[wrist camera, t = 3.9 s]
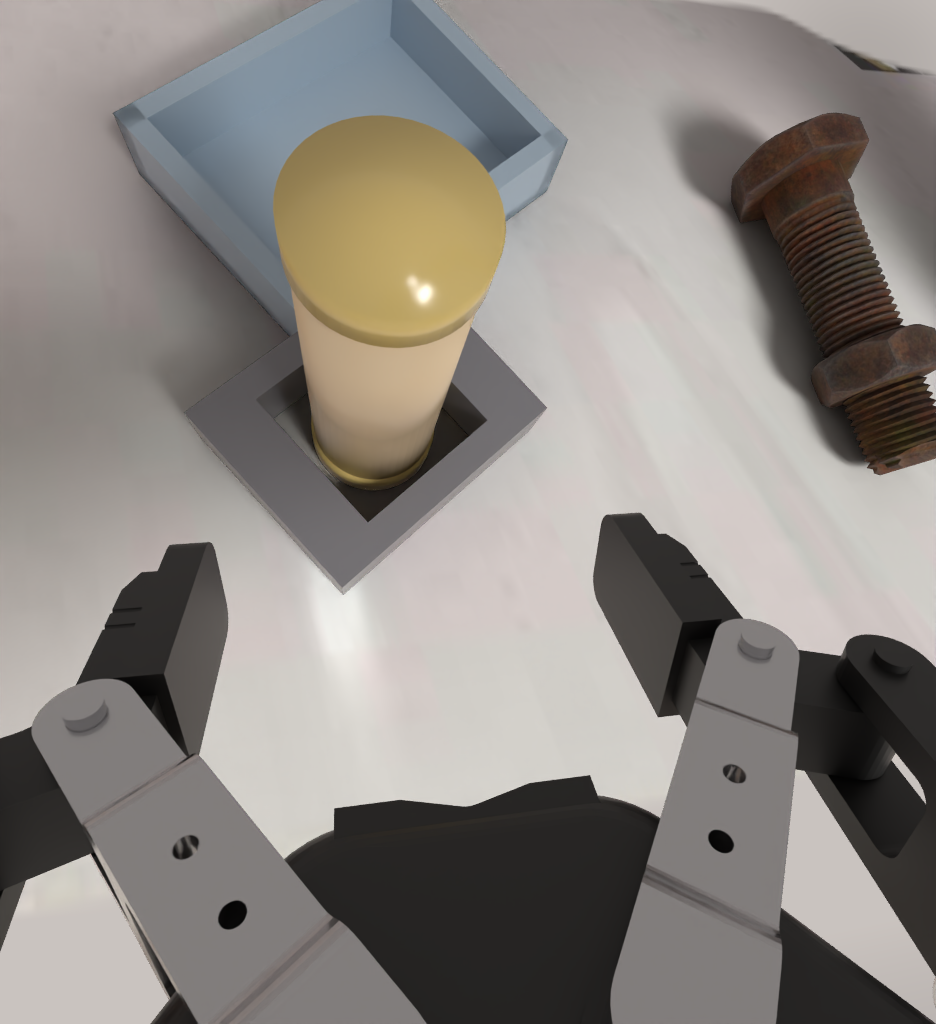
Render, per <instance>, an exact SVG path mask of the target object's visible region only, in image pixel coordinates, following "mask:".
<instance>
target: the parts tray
mask: <svg viewBox="0 0 936 1024" xmlns="http://www.w3.org/2000/svg"><path fill="white" fill-rule="evenodd" d="M113 114H114V116H115V119H116V121H117V123H118V125H119V128H120V130H121V132H122V135H123V137H124V139H125V141H126V144H127V146H128V148H129V151H130V153H131V155H132V157H133V160H134V162H135V164H136V167H137V169H138V171H139V173H140V175H141V176H142V177H143V178H144V179H145V180H146V181H147V182H148V183H149V184H150V186H151V187H152V188H153V189H154V190H155V191H156V192H157V193H158V194H159V195H160V196H161V197H162V199H163V200H164V201H165V202H166V203H167V204H168V205H169V206H170V207H171V208H172V209H173V210H174V212H175V213H176V214H177V215H178V216H179V217H180V218H181V219H182V220H183V221H184V222H185V223H186V225H187V226H188V227H189V228H190V229H191V230H192V231H193V232H194V233H195V234H196V235H197V237H198V238H199V239H200V240H201V241H202V242H203V243H204V244H205V245H206V246H207V247H208V248H209V250H210V251H211V252H212V253H213V254H214V255H215V256H216V257H217V258H218V259H219V260H220V261H221V263H222V264H223V265H224V266H225V267H226V268H227V269H228V270H229V271H230V272H231V273H232V274H233V276H234V277H235V278H236V279H237V280H238V281H239V282H240V283H241V284H242V285H243V286H244V287H245V289H246V290H247V291H248V292H249V293H250V294H251V295H252V296H253V297H254V298H255V299H256V300H257V302H258V303H259V304H260V305H261V306H262V307H263V308H264V309H265V310H266V311H267V312H268V313H269V315H270V316H271V317H272V318H273V319H274V320H275V321H276V322H277V323H278V324H279V325H280V326H281V328H282V329H283V330H284V331H285V332H286V333H287V334H288V335H289V336H292V335H293V334H294V333H296V332H297V331H298V328H297V322H296V316H295V310H294V304H293V298H292V292H291V287H290V284H289V282H288V280H287V278H286V275H285V273H284V269H283V265H282V262H281V256H280V251H279V245H278V239H277V234H276V228H275V222H274V214H273V196H274V191H275V186H276V182H277V179H278V176H279V174H280V171H281V169H282V167H283V165H284V164H285V162H286V160H287V159H288V157H289V156H290V155H291V153H292V152H293V151H294V150H295V148H296V147H297V146H299V145H300V144H301V143H302V142H303V141H304V140H305V139H306V138H308V137H309V136H310V135H312V134H313V133H315V132H316V131H318V130H320V129H322V128H324V127H326V126H328V125H330V124H333V123H335V122H338V121H341V120H345V119H349V118H353V117H360V116H369V115H385V116H394V117H401V118H405V119H410V120H414V121H417V122H420V123H423V124H426V125H429V126H431V127H433V128H435V129H437V130H440V131H442V132H443V133H445V134H447V135H448V136H450V137H452V138H453V139H455V140H456V141H457V142H459V143H460V144H461V145H463V146H464V147H465V148H466V149H468V150H469V151H470V152H471V153H472V154H473V155H474V156H475V157H476V158H477V159H478V160H479V162H480V163H481V164H482V165H483V166H484V168H485V169H486V171H487V172H488V174H489V175H490V177H491V178H492V180H493V182H494V184H495V186H496V188H497V190H498V192H499V195H500V198H501V201H502V203H503V208H504V213H505V221H507V220H508V219H510V218H511V217H512V216H514V215H515V214H516V213H518V212H519V211H520V210H522V209H523V208H524V207H526V206H527V205H528V204H530V203H531V202H533V201H534V200H535V199H537V198H538V197H539V196H541V195H542V194H543V193H545V192H546V191H547V189H548V187H549V184H550V182H551V180H552V177H553V175H554V172H555V170H556V168H557V165H558V163H559V160H560V158H561V156H562V153H563V151H564V148H565V146H566V144H567V141H568V139H567V138H566V137H565V136H564V135H563V134H562V133H561V132H560V131H559V130H558V129H557V128H556V127H555V126H554V125H553V124H552V123H551V122H550V121H549V120H548V119H547V117H546V116H545V115H544V114H543V113H542V112H541V111H540V110H539V109H538V108H537V107H536V106H535V105H534V104H533V103H532V102H531V101H530V100H529V99H528V98H527V97H526V96H525V95H524V94H523V93H522V92H521V91H520V90H519V89H518V88H517V86H516V85H515V84H514V83H513V82H512V81H511V80H510V79H509V78H508V77H507V76H506V75H505V74H504V73H503V72H502V71H501V70H500V69H499V68H498V67H497V66H496V65H495V64H494V63H493V62H492V61H491V60H490V59H489V58H488V57H487V56H486V54H485V53H484V52H483V51H482V50H481V49H480V48H479V47H478V46H477V45H476V44H475V43H474V42H473V41H472V40H471V39H470V38H469V37H468V36H467V35H466V34H465V33H464V32H463V31H462V30H461V29H460V28H459V27H458V26H457V25H456V24H455V22H454V21H453V20H452V19H451V18H450V17H449V16H448V15H447V14H446V13H445V12H444V11H443V10H442V9H441V8H440V7H439V6H438V5H437V4H436V3H435V2H434V1H433V0H321V1H320V2H318V3H316V4H314V5H312V6H310V7H309V8H307V9H305V10H303V11H301V12H299V13H297V14H296V15H294V16H292V17H290V18H288V19H286V20H284V21H283V22H281V23H279V24H277V25H275V26H273V27H271V28H270V29H268V30H266V31H264V32H262V33H260V34H259V35H257V36H255V37H253V38H251V39H249V40H247V41H246V42H244V43H242V44H240V45H238V46H236V47H234V48H233V49H231V50H229V51H227V52H225V53H223V54H221V55H220V56H218V57H216V58H214V59H212V60H210V61H208V62H207V63H205V64H203V65H201V66H199V67H197V68H196V69H194V70H192V71H190V72H188V73H186V74H184V75H183V76H181V77H179V78H177V79H175V80H173V81H171V82H170V83H168V84H166V85H164V86H162V87H160V88H158V89H157V90H155V91H153V92H151V93H149V94H147V95H146V96H144V97H142V98H140V99H138V100H136V101H134V102H133V103H131V104H129V105H127V106H125V107H123V108H121V109H120V110H118V111H116V112H114V113H113Z"/></svg>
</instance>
